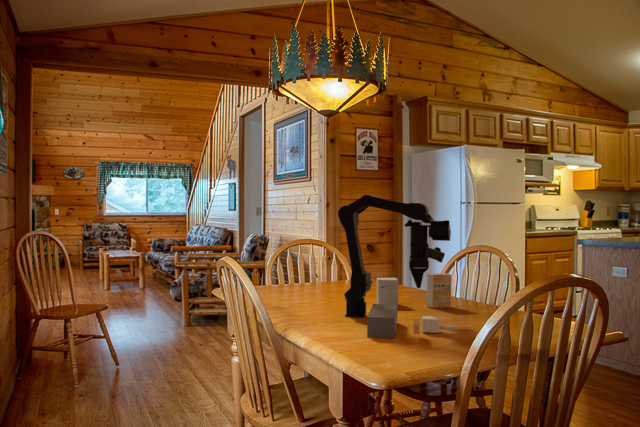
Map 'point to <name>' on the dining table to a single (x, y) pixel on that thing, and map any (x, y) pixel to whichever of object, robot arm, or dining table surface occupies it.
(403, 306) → the dining table surface
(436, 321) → the plug
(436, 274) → the supplement box
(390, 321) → the grey block
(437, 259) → the robot arm
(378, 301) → the small box
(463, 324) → the dining table surface
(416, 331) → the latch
